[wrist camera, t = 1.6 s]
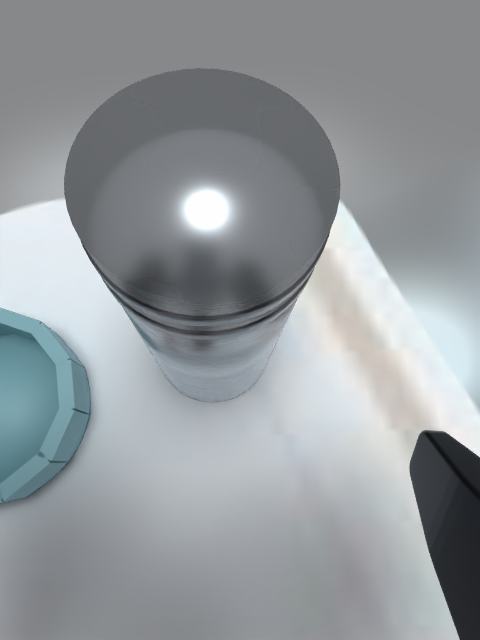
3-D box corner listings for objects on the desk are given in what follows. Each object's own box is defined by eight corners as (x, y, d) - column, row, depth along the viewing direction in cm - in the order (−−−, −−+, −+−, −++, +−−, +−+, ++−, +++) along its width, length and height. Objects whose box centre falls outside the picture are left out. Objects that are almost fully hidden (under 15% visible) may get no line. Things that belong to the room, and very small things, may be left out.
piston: (291, 352, 21) (399, 189, 8) (207, 427, 19) (185, 367, 7) (219, 275, 22) (219, 28, 9) (134, 341, 20) (4, 157, 8)
